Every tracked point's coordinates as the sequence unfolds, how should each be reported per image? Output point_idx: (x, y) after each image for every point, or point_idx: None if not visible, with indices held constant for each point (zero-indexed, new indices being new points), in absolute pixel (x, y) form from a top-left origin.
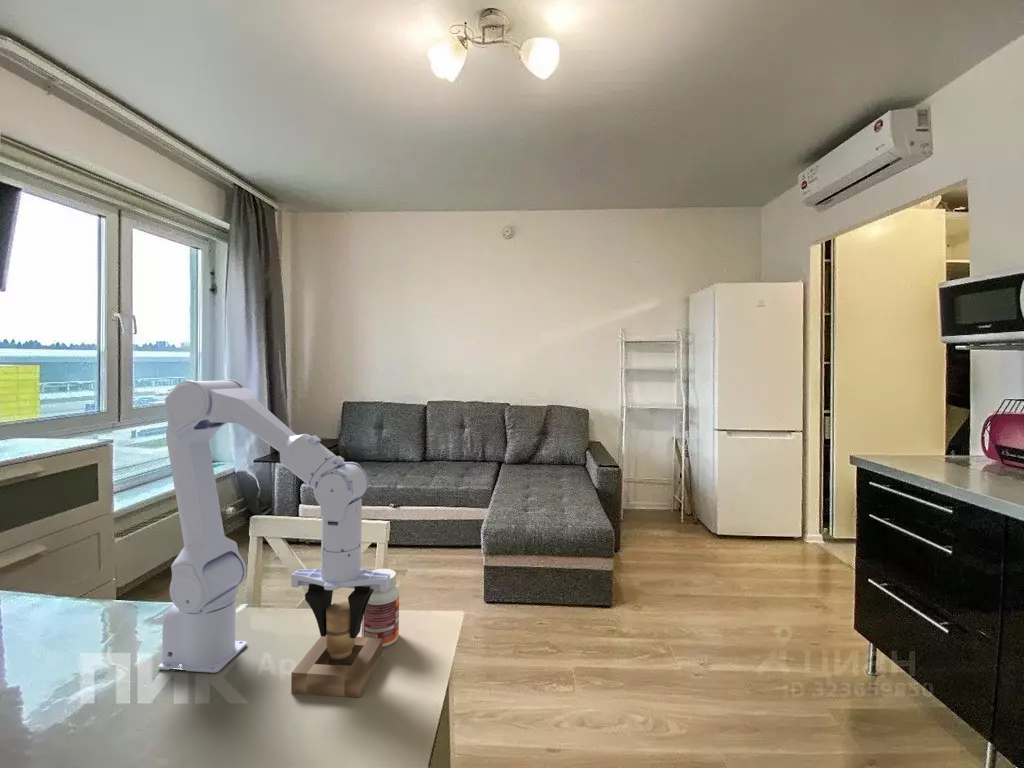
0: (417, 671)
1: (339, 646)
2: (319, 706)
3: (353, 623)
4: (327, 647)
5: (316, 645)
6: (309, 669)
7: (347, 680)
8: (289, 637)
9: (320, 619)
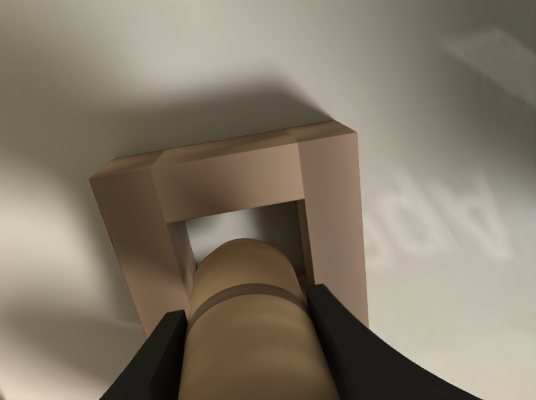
0: (28, 308)
1: (218, 262)
2: (211, 87)
3: (145, 362)
4: (279, 257)
5: (356, 288)
6: (301, 166)
7: (143, 166)
8: (475, 329)
9: (342, 333)
